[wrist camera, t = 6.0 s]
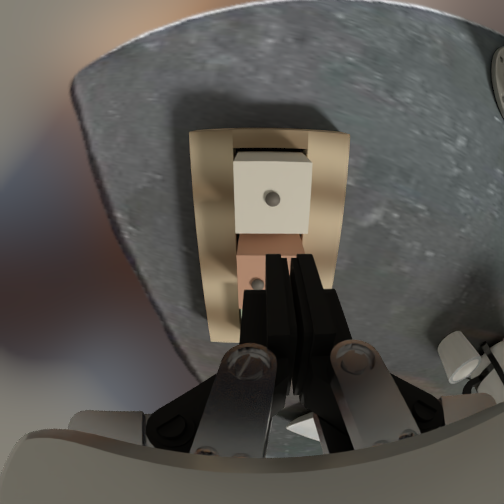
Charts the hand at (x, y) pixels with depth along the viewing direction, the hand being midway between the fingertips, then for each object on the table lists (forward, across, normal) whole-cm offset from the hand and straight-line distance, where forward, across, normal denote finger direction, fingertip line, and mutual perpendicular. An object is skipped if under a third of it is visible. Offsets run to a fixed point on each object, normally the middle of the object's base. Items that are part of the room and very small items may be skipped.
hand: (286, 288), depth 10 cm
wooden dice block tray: (+17, 0, +7) cm, 18 cm away
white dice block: (+15, 0, 0) cm, 15 cm away
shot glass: (+17, -33, +26) cm, 45 cm away
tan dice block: (+15, 0, +7) cm, 16 cm away
